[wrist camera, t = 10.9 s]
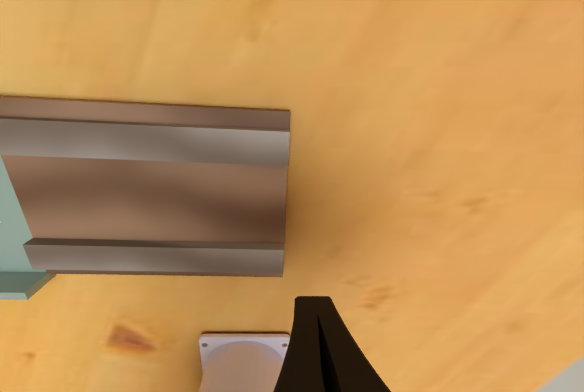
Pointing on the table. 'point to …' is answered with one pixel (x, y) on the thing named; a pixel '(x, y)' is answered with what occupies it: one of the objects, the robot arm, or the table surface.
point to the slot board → (148, 186)
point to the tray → (15, 247)
